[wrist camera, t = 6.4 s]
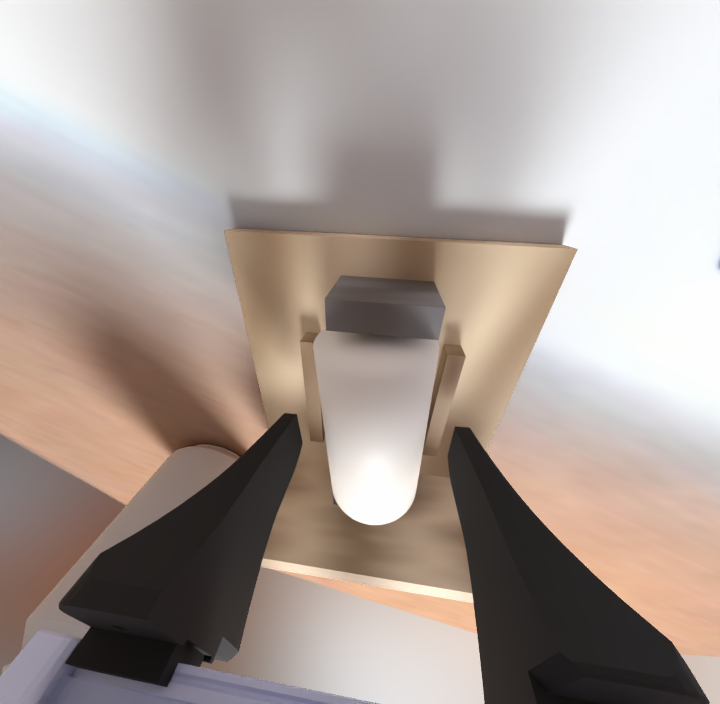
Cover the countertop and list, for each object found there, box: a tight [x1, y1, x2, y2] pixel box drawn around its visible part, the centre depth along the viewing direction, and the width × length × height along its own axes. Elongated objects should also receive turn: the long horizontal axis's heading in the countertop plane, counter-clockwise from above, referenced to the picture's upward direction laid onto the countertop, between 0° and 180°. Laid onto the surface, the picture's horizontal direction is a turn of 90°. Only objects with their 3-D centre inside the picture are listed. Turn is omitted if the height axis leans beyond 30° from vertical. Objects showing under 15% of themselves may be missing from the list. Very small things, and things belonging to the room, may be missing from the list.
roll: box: [313, 328, 440, 525], centre depth 12 cm, size 5×9×5 cm, turn 2°
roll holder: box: [224, 228, 577, 603], centre depth 12 cm, size 14×16×7 cm
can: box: [2, 444, 240, 673], centre depth 17 cm, size 8×8×12 cm
